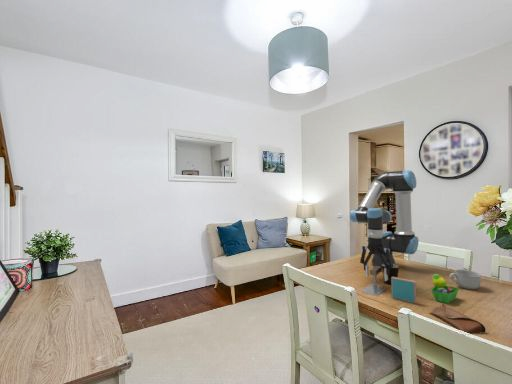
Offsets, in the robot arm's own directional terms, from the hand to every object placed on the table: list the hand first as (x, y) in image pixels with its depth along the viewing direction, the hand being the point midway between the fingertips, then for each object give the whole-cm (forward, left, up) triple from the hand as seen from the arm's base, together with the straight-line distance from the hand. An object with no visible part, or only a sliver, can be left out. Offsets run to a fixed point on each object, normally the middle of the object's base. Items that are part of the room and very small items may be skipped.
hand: (376, 278), depth 140 cm
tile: (+8, +15, -5) cm, 18 cm away
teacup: (-29, +35, -5) cm, 45 cm away
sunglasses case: (+18, +35, -6) cm, 40 cm away
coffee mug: (-13, +3, -5) cm, 14 cm away
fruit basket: (-5, +29, -5) cm, 30 cm away
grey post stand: (+2, 0, -5) cm, 6 cm away
